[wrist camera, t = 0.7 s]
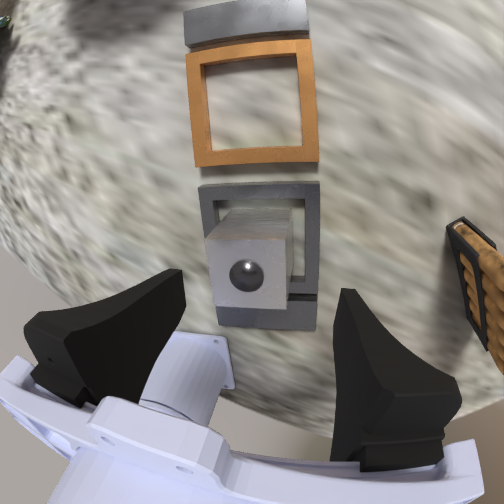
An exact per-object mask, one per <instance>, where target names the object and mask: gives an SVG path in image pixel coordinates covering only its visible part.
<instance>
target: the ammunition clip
mask: <svg viewBox="0 0 504 504" xmlns="http://www.w3.org/2000/svg"><path fill="white" fill-rule="evenodd" d="M446 228H447V231H448V234H449V238H450V241H451V245H452V249H453V252H454V256H455V260H456V264H457V268H458V273H459V277H460V282H461V287H462V292H463V297H464V303H465V309H466V315H467V319H468V320H469V322H470V324H471V325H472V327H473V329H474V331H475V332H476V334H477V336H478V337H479V339H480V341H481V343H482V345H483V346H484V348H485V350H486V352H487V351H489V352H490V354H491V356H492V357H493V359H494V361H495V363H496V365H497V367H498V369H499V370H500V371H501V372H502V374H503V375H504V257H503V256H502V255H500V254H499V253H498V252H497V249H496V244H495V243H494V242H493V241H492V240H491V239H489V238H488V237H487V236H486V235H485V234H484V233H483V232H482V231H480V230H479V229H478V228H477V227H476V226H475V225H473V224H472V223H471V222H470V221H469V220H467V219H466V218H465V217H464V216H463V217H461V218H459V219H457V220H456V221H454V222H452V223H450V224H449V225H447V226H446Z"/></svg>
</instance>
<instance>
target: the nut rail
mask: <svg viewBox="0 0 504 504" xmlns="http://www.w3.org/2000/svg"><path fill="white" fill-rule="evenodd" d="M183 14H184V37H185V46H187V47H189V48H194V47H198V46H203V45H208V44H213V43H219V42H225V41H231V40H238V39H246V38H254V37H264V36H276V35H294V34H309V24H308V17H307V10H306V3H305V0H238V1H232V2H226V3H220V4H215V5H210V6H206V7H201V8H197V9H193V10H189V11H185V12H183ZM185 55H186V70H187V84H188V97H189V109H190V120H191V130H192V140H193V149H194V159H195V167H204V166H217V165H230V164H247V163H270V162H319V144H318V123H317V107H316V92H315V80H314V69H313V59H312V49H311V40H310V39H299V40H278V41H266V42H255V43H247V44H239V45H232V46H225V47H219V48H214V49H208V50H203V51H198V52H193V53H189V54H185ZM290 56H297V65H298V76H299V88H300V101H301V116H302V133H303V146H276V147H255V148H239V149H226V150H215V151H212V147H211V136H210V126H209V114H208V103H207V91H206V78H205V66H209V65H215V64H221V63H227V62H234V61H242V60H251V59H261V58H273V57H290ZM198 192H199V200H200V208H201V216H202V223H203V230H204V237H205V238H206V237H207V236H208V235H209V234H210V233H211V231H212V230H213V229H214V228H215V227H216V226H217V225H218V223H219V222H220V221H219V213H218V204H217V200H237V199H285V198H305V232H306V257H305V276H291V282H290V289H289V293H308V294H318V277H319V243H320V183H319V181H276V182H244V183H224V184H207V185H201V186H200V187H198ZM216 312H217V318H218V324H219V325H222V326H234V327H248V328H265V329H285V330H316V315H317V295H305V294H289V296H288V302H287V309H262V308H242V307H225V306H216Z"/></svg>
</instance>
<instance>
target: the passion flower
mask: <svg viewBox="0 0 504 504" xmlns="http://www.w3.org/2000/svg"><path fill="white" fill-rule="evenodd" d="M10 21H11V18H10V15H8V16H4V17H2V18H1V17H0V28H2V27H4V26H6V25H8V23H9V22H10Z"/></svg>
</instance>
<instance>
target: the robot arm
mask: <svg viewBox="0 0 504 504" xmlns="http://www.w3.org/2000/svg"><path fill="white" fill-rule="evenodd" d="M185 308H186V299H185V291H184V283H183V275H182V270H178V269H168V270H165V271H163V272H161V273H159V274H157V275H155V276H153V277H151V278H149V279H147V280H145V281H143V282H142V283H140V284H138V285H136V286H133V287H131V288H129V289H127V290H125V291H123V292H121V293H119V294H116V295H114V296H111V297H109V298H106V299H103V300H100V301H97V302H94V303H90V304H86V305H83V306H79V307H74V308H69V309H63V310H54V311H42V312H39V313H37V314H36V315H35V316H34V317H33V318H32V319H31V320H30V321H29V322H28V323H27V324H25V326H24V336H25V339H26V341H27V343H28V345H29V347H30V349H31V350H32V352H33V354H34V356H35V358H36V359H37V361H38V363H39V364H38V365H37V366H36V367H34V366H33V364H32V363H30V362H29V361H27V360H26V359H24V358H23V357H21V356H19V355H17V356H16V357H15V358H14V359H13V360H12V361H11V363H9V364H8V366H7V367H6V368H5V369H4V370H3V371H2V372H1V373H0V402H1V403H2V405H3V406H4V407H5V408H6V410H7V411H8V412H9V413H10V414H11V415H12V416H13V418H14V419H15V420H16V421H17V422H19V423H20V424H21V425H22V426H23V427H25V428H26V429H27V430H29V431H30V432H31V433H32V434H33V435H35V436H36V437H37V438H39V439H40V440H41V441H42V442H44V443H45V444H46V445H48V446H49V447H50V448H52V449H53V450H54V451H56V452H57V453H58V454H60V455H61V456H63V457H64V458H66V459H67V460H69V461H70V464H69V465H68V467H67V469H66V470H65V472H64V474H63V475H62V477H61V479H60V481H59V483H58V484H57V486H56V487H55V489H54V491H53V493H52V495H51V496H50V498H49V500H48V502H47V503H46V504H467V503H469V502H471V501H473V500H474V499H476V498H478V497H480V496H481V495H483V493H484V487H483V480H482V474H481V469H480V463H479V459H478V454H477V449H476V445H475V441H474V439H468V440H464V441H459V442H454V443H450V444H448V445H446V446H444V447H442V441H441V440H443V438H444V437H445V433H444V427H445V426H446V425H447V424H448V423H449V422H450V420H451V419H452V418H453V417H454V416H455V415H456V413H457V412H458V410H459V409H460V407H461V404H462V397H461V394H460V391H459V388H458V385H457V382H456V380H455V378H454V377H452V376H450V375H448V374H446V373H444V372H442V371H440V370H438V369H436V368H434V367H433V366H431V365H430V364H428V363H426V362H425V361H423V360H422V359H420V358H419V357H417V356H416V355H415V354H413V353H412V352H411V351H410V350H408V349H407V348H406V347H405V346H403V345H402V344H401V343H400V342H399V341H398V340H397V339H396V338H395V337H394V336H392V335H391V334H390V332H389V331H388V330H387V329H386V328H385V327H384V326H383V325H382V324H381V323H380V321H379V320H378V319H377V318H376V317H375V315H374V314H373V313H372V312H371V310H370V309H369V308H368V306H367V305H366V304H365V302H364V301H363V299H362V298H361V297H360V295H359V294H358V292H357V291H356V290H355V289H348V288H341V293H340V298H339V302H338V307H337V311H336V316H335V320H334V325H333V350H334V361H335V373H336V390H337V394H336V411H335V423H334V433H333V441H332V449H331V456H330V461H309V460H295V459H286V458H277V457H269V456H262V455H255V454H249V453H244V452H238V451H233V450H230V446H229V444H228V443H227V442H226V440H225V439H224V437H223V436H222V435H221V434H220V433H218V432H216V431H215V430H213V429H211V428H210V427H208V424H209V421H210V419H211V416H212V413H213V410H214V408H215V404H216V402H217V399H218V396H219V394H220V391H221V388H223V389H234V388H235V382H234V376H233V371H232V365H231V360H230V354H229V349H228V343H227V339H226V338H225V337H223V336H214V335H204V334H195V333H187V332H179V331H175V329H176V327H177V326H178V324H179V322H180V320H181V318H182V315H183V313H184V311H185ZM216 340H217V341H216Z"/></svg>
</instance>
